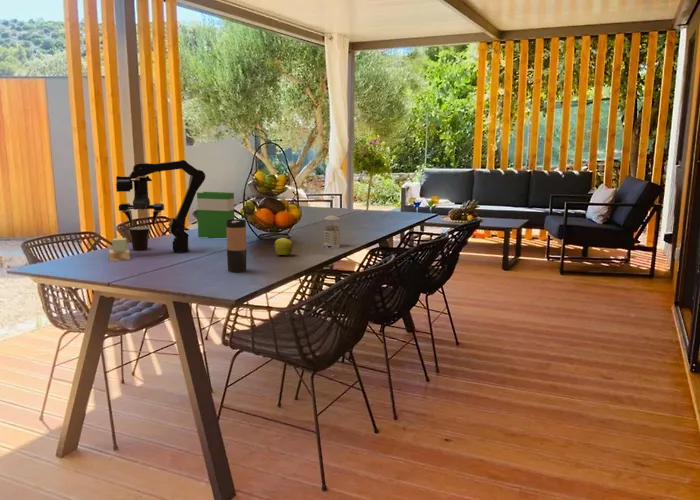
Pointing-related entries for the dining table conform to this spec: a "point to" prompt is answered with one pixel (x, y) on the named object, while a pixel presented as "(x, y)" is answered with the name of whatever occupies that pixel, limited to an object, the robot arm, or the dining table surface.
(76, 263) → the dining table surface
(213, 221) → the cereal box
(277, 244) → the apple
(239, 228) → the travel mug
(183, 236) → the robot arm
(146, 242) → the coffee mug
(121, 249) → the yellow cube
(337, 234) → the french press
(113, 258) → the oak block
